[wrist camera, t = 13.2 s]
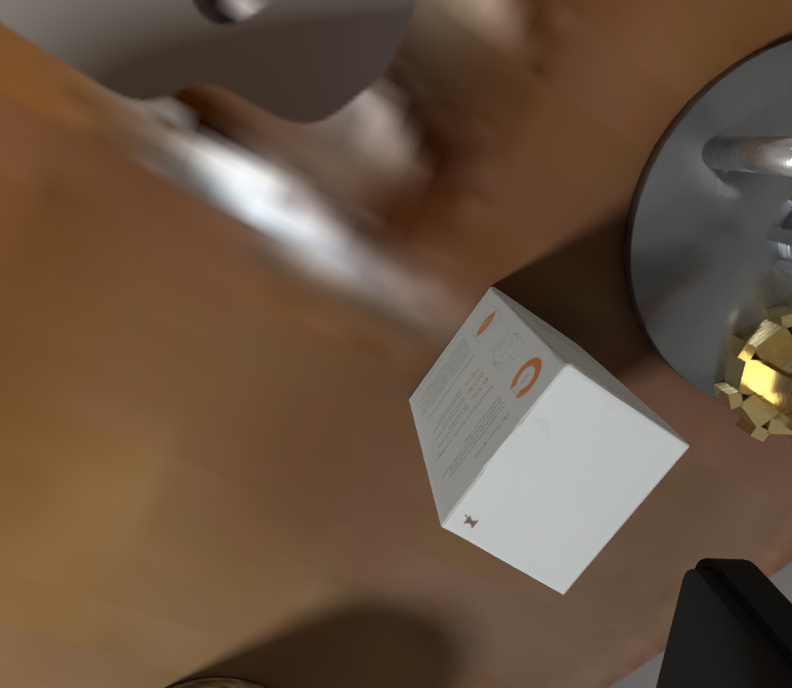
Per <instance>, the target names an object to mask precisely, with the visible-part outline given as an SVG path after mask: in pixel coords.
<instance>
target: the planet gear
mask: <svg viewBox="0 0 792 688" xmlns="http://www.w3.org/2000/svg"><path fill="white" fill-rule="evenodd" d="M764 311H765V317H766V320H765V321H763V322H762V323H761V324H759V325H758V326H757V327H755V328H754V329H753V330H751V331H750V332H749V333H747V334H746V335H745V336H743V337H742V338H741V339H739V338H738V337H736V336H734V335H731V337H730V338H729V340H728V341H727V343H726V344H725V346H724V347H723V349H724V350H726V351H727V352H729V353H731V354H730V358H729V362H728V366H727V371H726V375H725V379H724V382H721V383H718V384H715V385H714V387H715V393H716V398H717V400H719V401H720V402H722V403H723V404H724V405H726V406H727V407H728V408H730V409H734V408H736V409H737V411H738V412H739V414H740V415H741V417H740V419H739V420H738V422H737V423H736V425H737V426H738V427H740V428H741V429H742V430H744V431H745V432H746V433H747V434H749V435H750V436H752V437H754V438H756V439H758V440H760V441H762V442H764V440H765V439H766V438H767V436H768V435H769V434H786V435H787V436H789V437H790V438H791V439H792V309H790V308H787V307H785V306H782V305H778V306H775V307H772V308H769V309H765V310H764Z"/></svg>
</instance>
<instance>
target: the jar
mask: <svg viewBox="0 0 792 688" xmlns="http://www.w3.org/2000/svg"><path fill="white" fill-rule="evenodd" d="M169 688H266V687H264V686H262V685H259V684H256V683H253V682H250V681H246V680H241V679H236V678H226V677H210V678H201V679H194V680H190V681H186V682H182V683H179V684H176V685H174V686H171V687H169Z"/></svg>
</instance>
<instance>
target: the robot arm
mask: <svg viewBox="0 0 792 688" xmlns="http://www.w3.org/2000/svg"><path fill="white" fill-rule="evenodd" d="M656 688H792V603H791V602H790V601H789V600H788V599H787V598H786V597H785V596H784V595H783V594H782V593H781V592H780V591H779V590H778V589H777V588H776V587H775V585H773V583H772V582H771V581H770V580H769V579H768V578H767V577H766V576H765V575H764V574H763V573H762V572H761V571H760V570H759V568H758V567H757V566H756V565H754V564H753V563H752V562H750V561H748V560H744V559H715V558H705V559H702V560H700V561H699V562H698V564H697V565H696V567H695V569H691V570H688V571H687V572H686V573H685V575H684V578H683V581H682V585H681V589H680V593H679V597H678V601H677V605H676V609H675V613H674V617H673V621H672V625H671V629H670V634H669V638H668V642H667V646H666V650H665V654H664V658H663V662H662V666H661V670H660V674H659V678H658V682H657V687H656Z"/></svg>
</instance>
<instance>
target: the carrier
mask: <svg viewBox="0 0 792 688" xmlns="http://www.w3.org/2000/svg"><path fill="white" fill-rule="evenodd" d="M624 271H625V278H626V285H627V291H628V295H629V298H630V302H631V305H632V309H633V312H634V314H635V317H636V319H637V321H638V323H639V326H640V328H641V330H642V332H643V334H644V335H645V337H646V338H647V340H648V341H649V343H650V345H651V346H652V348H653V349H654V350H655V352H656V353H657V354H658V355H659V356H660V357H661V358H662V360H663V361H664V362H665V363H666V364H667V365H668V366H669V367H670V368H672V369H673V370H674V371H675V372H676V373H677V374H679V375H680V376H681V377H682V378H684V379H685V380H686V381H688V382H689V383H690V384H692V385H693V386H695V387H696V388H698V389H700V390H701V391H703V392H705V393H706V394H708V395H709V396H711V397H714V398H716V393H715V387H714V385H715V384H718V383H721V382H724V379H725V375H726V371H727V366H728V362H729V358H730V354H731V353H729V352H727V351H726V350H724V349H723V347H724V346H725V344H726V343H727V341H728V340H729V338H730V337H731V335H734V336H736V337H738V338H739V339H741V338H742V337H743V336H745V335H746V334H747V333H749V332H750V331H751V330H753V329H754V328H755V327H757V326H758V325H759V324H761V323H762V322H763V321H765V320H766V317H765V311H764V310H765V309H769V308H772V307H775V306H778V305H782V306H785V307H787V308H790V309H792V39H791V40H787V41H783V42H780V43H777V44H775V45H772V46H770V47H767V48H765V49H762V50H760V51H757V52H755V53H753V54H752V55H750V56H748V57H746V58H744V59H743V60H741V61H739V62H737V63H735V64H734V65H732V66H730V67H729V68H728V69H726V70H725V71H724V72H722V73H721V74H720V75H718V76H717V77H715V78H714V79H713V80H711V81H710V82H709V83H708V84H707V85H705V86H704V87H703V88H702V89H701V90H700V91H699V92H698V93H697V94H696V95H695V96H694V97H692V98H691V99H690V100H689V101H688V102H687V104H686V105H685V106H684V107H683V108H682V109H681V111H680V112H679V113H678V114H677V115H676V116H675V118H674V119H673V120H672V121H671V122H670V124H669V125H668V127H667V128H666V130H665V131H664V133H663V134H662V136H661V137H660V139H659V140H658V142H657V143H656V144H655V146H654V148H653V150H652V152H651V154H650V156H649V158H648V160H647V162H646V163H645V165H644V167H643V169H642V172H641V175H640V177H639V180H638V182H637V185H636V188H635V190H634V193H633V196H632V200H631V204H630V208H629V212H628V216H627V222H626V230H625V238H624ZM716 399H717V398H716Z"/></svg>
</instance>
